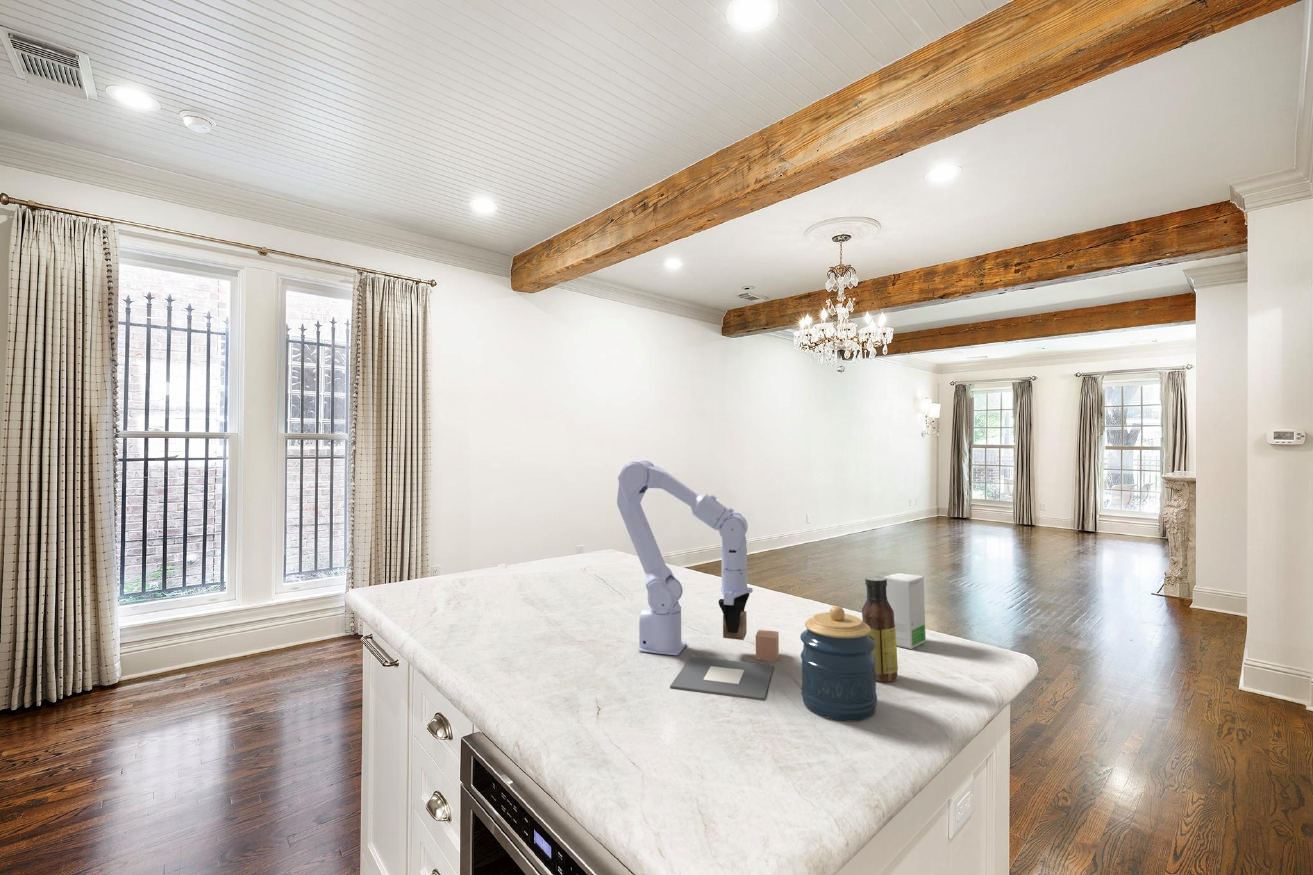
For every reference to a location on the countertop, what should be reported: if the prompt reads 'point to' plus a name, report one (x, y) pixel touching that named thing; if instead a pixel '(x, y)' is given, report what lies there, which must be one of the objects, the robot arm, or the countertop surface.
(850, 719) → the canister
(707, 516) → the robot arm
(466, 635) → the countertop surface
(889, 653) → the sauce bottle
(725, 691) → the grey mat
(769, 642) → the terracotta block
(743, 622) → the walnut block
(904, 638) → the skincare box
